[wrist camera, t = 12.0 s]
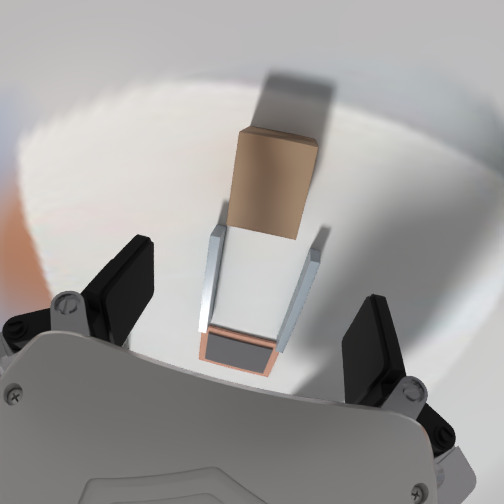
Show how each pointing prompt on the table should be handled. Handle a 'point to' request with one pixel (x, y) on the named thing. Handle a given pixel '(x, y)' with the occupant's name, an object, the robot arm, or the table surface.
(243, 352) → the pad
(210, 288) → the channel
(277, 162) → the walnut block
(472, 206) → the table surface
